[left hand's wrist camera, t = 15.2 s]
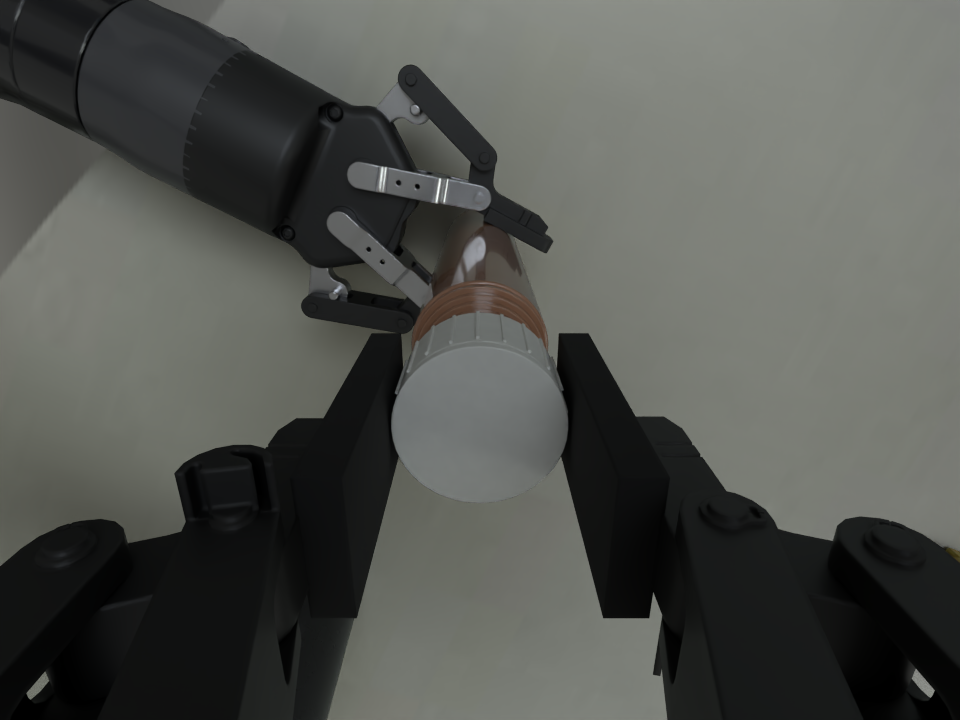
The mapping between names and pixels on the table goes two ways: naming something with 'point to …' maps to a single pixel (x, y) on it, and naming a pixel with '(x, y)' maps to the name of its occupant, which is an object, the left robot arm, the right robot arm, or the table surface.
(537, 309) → the bottle
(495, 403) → the cap
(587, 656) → the table surface
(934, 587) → the left robot arm
